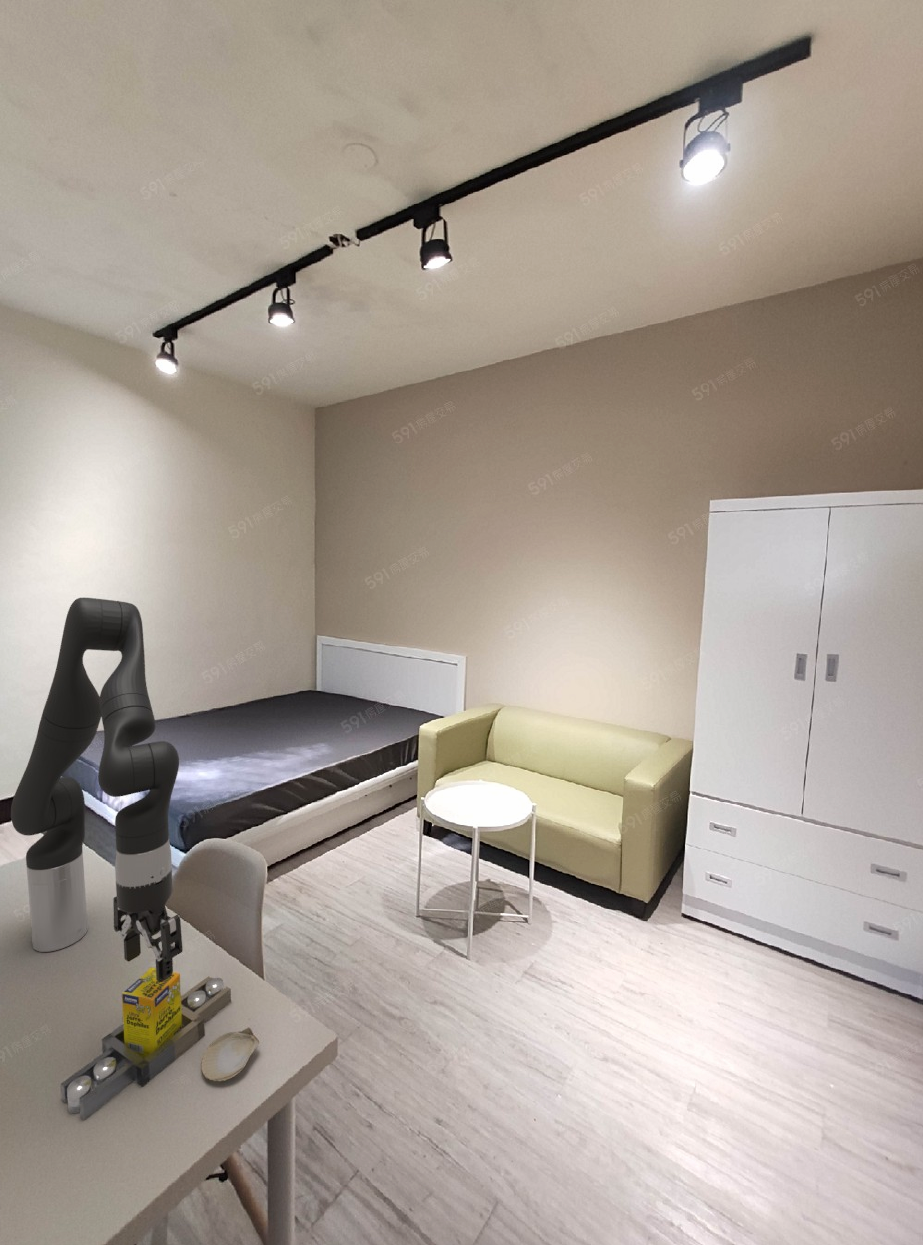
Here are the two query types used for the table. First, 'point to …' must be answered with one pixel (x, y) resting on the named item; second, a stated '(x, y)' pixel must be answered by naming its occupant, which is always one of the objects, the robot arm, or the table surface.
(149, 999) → the supplement box
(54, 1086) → the table surface
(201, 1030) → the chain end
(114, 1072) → the frame
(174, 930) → the robot arm
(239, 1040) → the seashell
